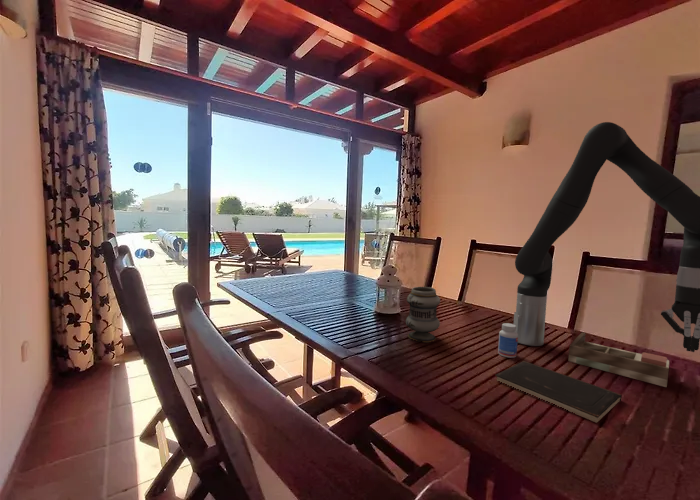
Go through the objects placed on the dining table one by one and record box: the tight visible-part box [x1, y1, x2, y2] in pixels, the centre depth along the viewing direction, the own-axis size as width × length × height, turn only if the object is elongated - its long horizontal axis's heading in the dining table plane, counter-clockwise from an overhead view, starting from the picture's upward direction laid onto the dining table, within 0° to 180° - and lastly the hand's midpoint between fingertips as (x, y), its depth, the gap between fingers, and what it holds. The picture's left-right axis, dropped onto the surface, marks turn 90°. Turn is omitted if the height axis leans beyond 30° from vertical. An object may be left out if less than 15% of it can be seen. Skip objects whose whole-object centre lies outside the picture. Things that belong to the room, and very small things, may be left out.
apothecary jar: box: [405, 286, 441, 343], centre depth 120 cm, size 12×12×18 cm
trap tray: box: [567, 331, 670, 388], centre depth 101 cm, size 22×18×5 cm
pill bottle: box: [497, 322, 519, 359], centre depth 106 cm, size 6×5×10 cm
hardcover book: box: [494, 360, 623, 424], centre depth 84 cm, size 16×23×2 cm
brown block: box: [641, 351, 668, 367], centre depth 92 cm, size 5×5×4 cm
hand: (690, 350), depth 86 cm, fingers closed
